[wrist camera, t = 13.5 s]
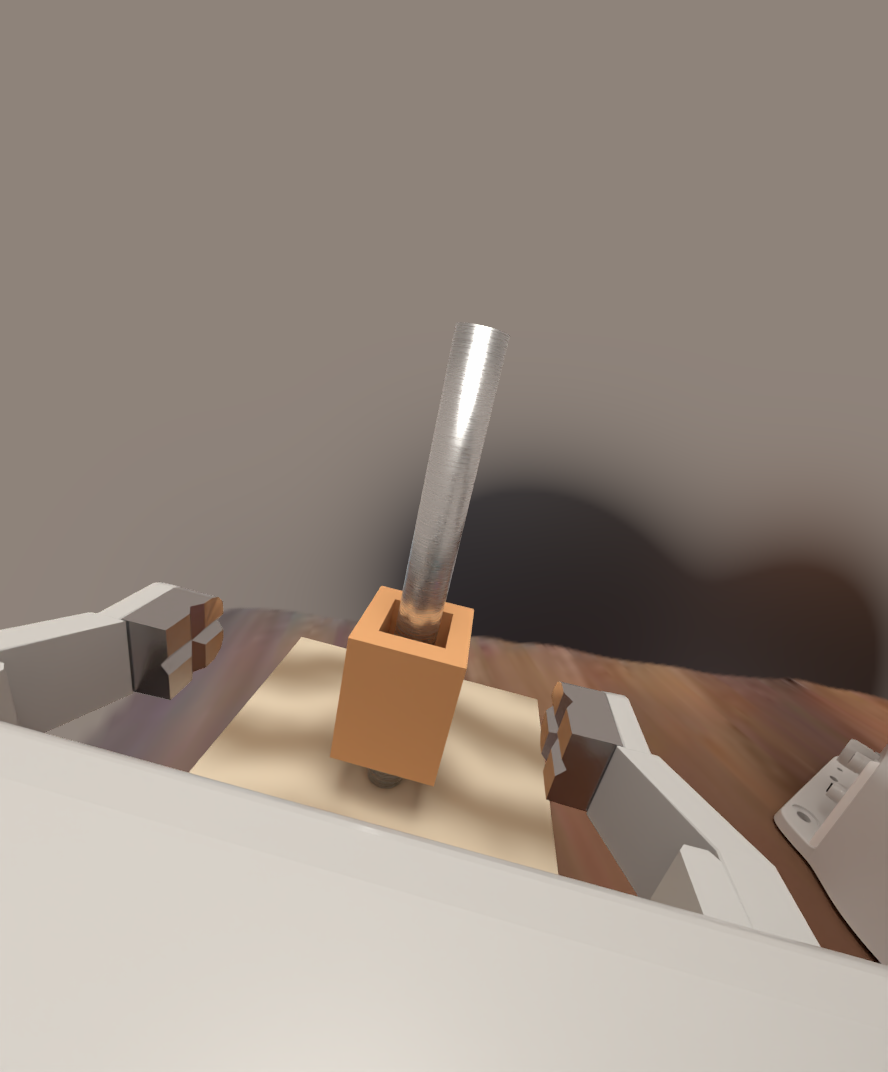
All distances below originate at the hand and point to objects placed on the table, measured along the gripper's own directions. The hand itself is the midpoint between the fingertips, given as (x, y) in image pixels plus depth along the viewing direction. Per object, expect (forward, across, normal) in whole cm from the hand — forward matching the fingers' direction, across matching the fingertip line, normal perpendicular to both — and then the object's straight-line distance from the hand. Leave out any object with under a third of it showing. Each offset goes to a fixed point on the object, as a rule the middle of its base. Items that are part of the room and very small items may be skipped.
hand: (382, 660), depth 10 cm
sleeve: (+12, 0, +14) cm, 18 cm away
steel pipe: (+12, +1, +18) cm, 21 cm away
